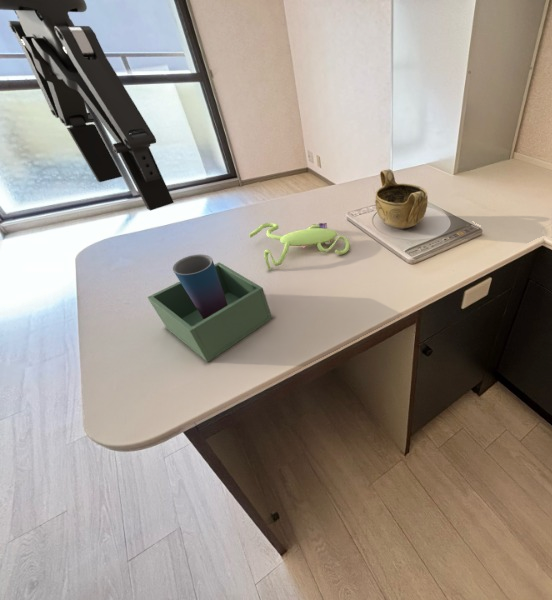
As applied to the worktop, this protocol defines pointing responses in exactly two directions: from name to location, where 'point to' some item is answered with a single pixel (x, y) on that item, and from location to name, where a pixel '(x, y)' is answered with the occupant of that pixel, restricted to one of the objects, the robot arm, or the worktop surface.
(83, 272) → the worktop surface
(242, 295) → the bin
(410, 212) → the ceramic bowl
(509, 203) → the worktop surface
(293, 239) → the figurine
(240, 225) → the worktop surface
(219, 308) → the cup
